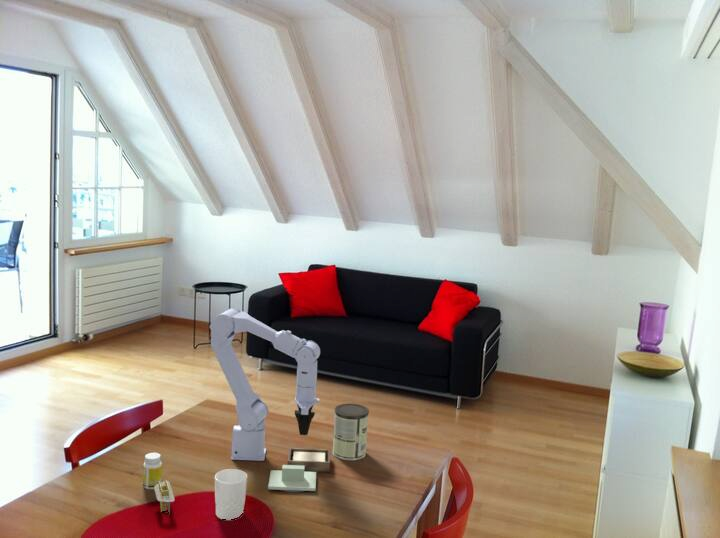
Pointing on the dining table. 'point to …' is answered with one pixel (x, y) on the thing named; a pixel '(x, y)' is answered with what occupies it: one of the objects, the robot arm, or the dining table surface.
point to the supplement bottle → (152, 470)
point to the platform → (167, 498)
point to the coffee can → (350, 431)
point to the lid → (292, 479)
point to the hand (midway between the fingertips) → (303, 429)
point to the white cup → (230, 493)
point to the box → (310, 459)
